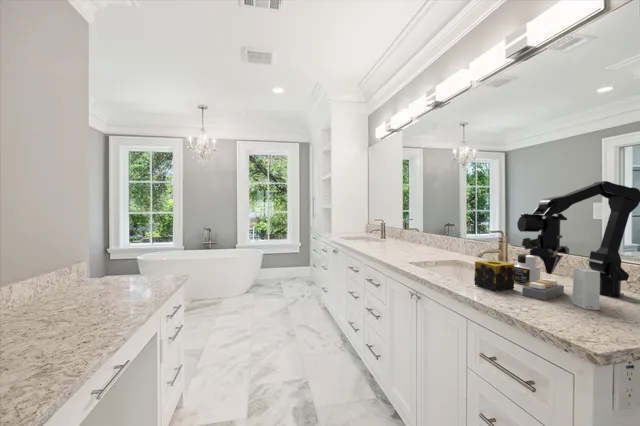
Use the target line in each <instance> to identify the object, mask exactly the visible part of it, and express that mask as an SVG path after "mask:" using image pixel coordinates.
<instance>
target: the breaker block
mask: <svg viewBox="0 0 640 426" xmlns="http://www.w3.org/2000/svg"><path fill="white" fill-rule="evenodd" d="M564 286H565V285H563V284H559V283H557V285H552V286H551V287H546V288H545V289H538V288H533V287H529V285H528V286H527V285H524V286H523V287H522V290H521V291H522V292H521V293H522V295H521V296H523V297H527V298H531V299H535V300H540V301H545V302H546V301H549V300H551V299H554V298H556V297H558V296H561V295H563V294H564V293H565V287H564Z"/></svg>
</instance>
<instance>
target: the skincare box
mask: <svg viewBox="0 0 640 426" xmlns="http://www.w3.org/2000/svg"><path fill="white" fill-rule="evenodd" d="M572 271H573V272H572V273H573V275H572V276H573V277H572V278H573V279H572V304H574V305H575V306H577V307H579V308H582V309H584V310H593V311H594V310H595V311H597V310H598V311H600V295H601V294H600V272H598V271H595V270H592V269H591V268H587V267H586V268H585V267H573V270H572Z"/></svg>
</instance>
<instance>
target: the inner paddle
mask: <svg viewBox="0 0 640 426" xmlns="http://www.w3.org/2000/svg"><path fill="white" fill-rule="evenodd" d="M541 281H546V282H552V285H557V284H558V280H557V279H556V280H555V279H551V278H550V279H549V278H542V279H541Z"/></svg>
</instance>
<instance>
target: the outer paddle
mask: <svg viewBox="0 0 640 426" xmlns="http://www.w3.org/2000/svg"><path fill="white" fill-rule="evenodd" d="M529 287H533V288H538V289H545V288H546V284H541V283H536V282H531V283H529Z"/></svg>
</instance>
